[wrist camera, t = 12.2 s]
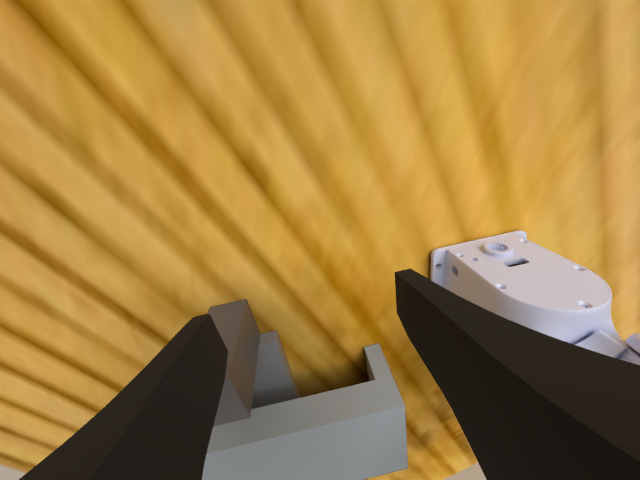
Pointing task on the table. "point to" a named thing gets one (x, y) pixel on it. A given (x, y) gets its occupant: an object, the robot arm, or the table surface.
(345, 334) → the table surface
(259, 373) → the scraper
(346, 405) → the grey bench
